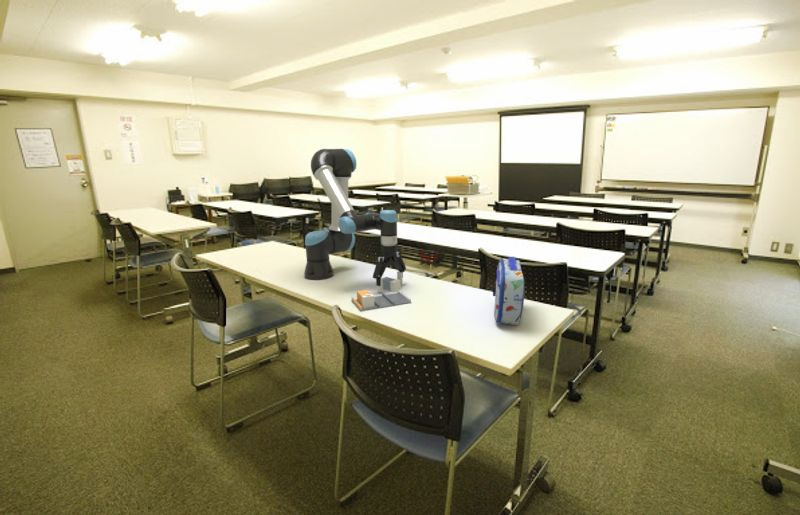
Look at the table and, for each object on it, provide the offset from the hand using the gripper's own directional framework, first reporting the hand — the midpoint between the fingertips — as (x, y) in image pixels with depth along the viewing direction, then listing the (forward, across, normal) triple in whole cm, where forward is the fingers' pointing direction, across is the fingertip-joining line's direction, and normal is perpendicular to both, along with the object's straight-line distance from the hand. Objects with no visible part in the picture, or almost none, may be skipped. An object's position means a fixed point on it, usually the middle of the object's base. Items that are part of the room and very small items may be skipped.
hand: (390, 288), depth 182 cm
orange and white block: (0, -22, -6) cm, 23 cm away
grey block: (0, 0, 0) cm, 0 cm away
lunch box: (+1, +6, -56) cm, 57 cm away
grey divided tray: (0, -15, -9) cm, 18 cm away
